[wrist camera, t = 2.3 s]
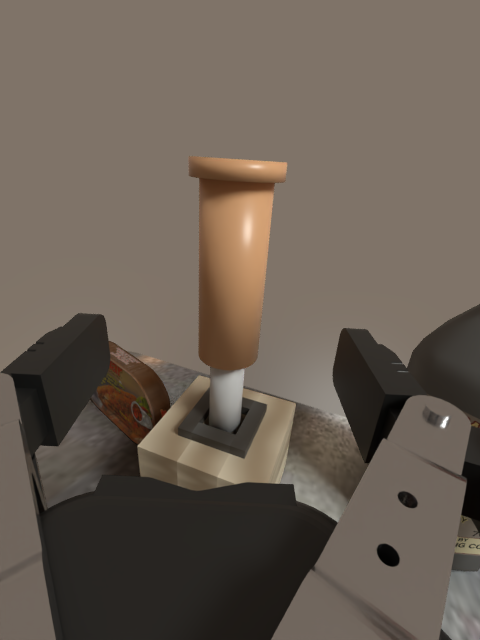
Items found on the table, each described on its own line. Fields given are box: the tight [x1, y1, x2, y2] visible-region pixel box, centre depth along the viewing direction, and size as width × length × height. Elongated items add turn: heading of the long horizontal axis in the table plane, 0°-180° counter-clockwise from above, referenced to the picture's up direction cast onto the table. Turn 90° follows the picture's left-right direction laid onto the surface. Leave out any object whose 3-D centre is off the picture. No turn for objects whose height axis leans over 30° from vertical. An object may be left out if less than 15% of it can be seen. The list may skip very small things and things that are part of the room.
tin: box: [91, 341, 170, 444], centre depth 37 cm, size 15×3×8 cm, turn 49°
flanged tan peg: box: [189, 156, 287, 435], centre depth 23 cm, size 6×6×21 cm
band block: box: [137, 376, 296, 491], centre depth 29 cm, size 10×10×9 cm
